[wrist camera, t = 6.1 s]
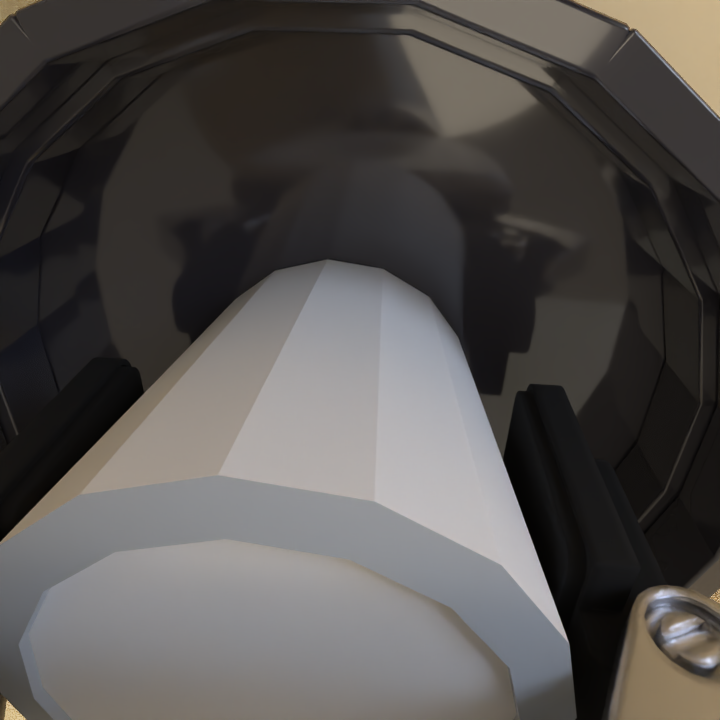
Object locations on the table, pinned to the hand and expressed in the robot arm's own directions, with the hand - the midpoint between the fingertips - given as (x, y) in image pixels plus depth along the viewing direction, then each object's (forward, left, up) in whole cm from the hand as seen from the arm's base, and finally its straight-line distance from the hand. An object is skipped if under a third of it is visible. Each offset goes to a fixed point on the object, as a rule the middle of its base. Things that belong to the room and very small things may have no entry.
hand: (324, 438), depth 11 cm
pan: (0, 0, -2) cm, 2 cm away
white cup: (0, 0, -2) cm, 2 cm away
